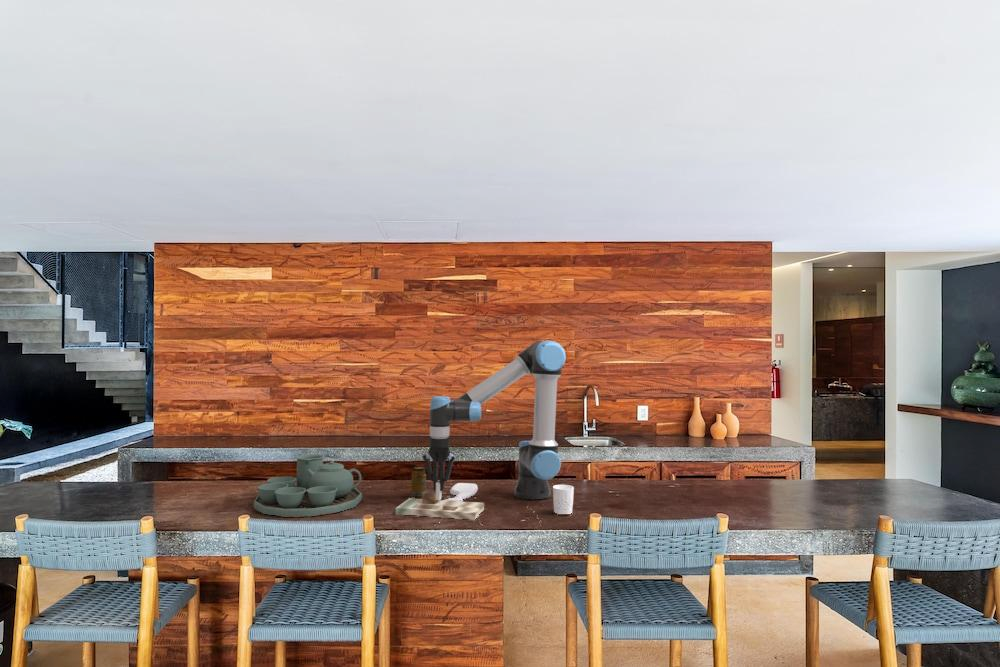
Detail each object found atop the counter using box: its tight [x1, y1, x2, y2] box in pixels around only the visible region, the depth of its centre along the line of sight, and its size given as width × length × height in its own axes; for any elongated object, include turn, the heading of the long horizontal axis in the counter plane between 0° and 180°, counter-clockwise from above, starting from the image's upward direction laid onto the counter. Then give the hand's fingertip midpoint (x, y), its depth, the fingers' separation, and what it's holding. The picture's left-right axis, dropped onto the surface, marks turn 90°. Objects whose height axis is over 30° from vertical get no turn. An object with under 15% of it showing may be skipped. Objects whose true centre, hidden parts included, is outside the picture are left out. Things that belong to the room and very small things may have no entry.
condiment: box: [410, 466, 427, 498], centre depth 252 cm, size 7×8×12 cm
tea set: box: [253, 453, 363, 516], centre depth 239 cm, size 40×40×16 cm
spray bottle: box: [444, 482, 479, 502], centre depth 255 cm, size 3×11×25 cm
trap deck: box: [395, 497, 485, 521], centre depth 230 cm, size 30×15×2 cm, turn 79°
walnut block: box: [422, 489, 439, 504], centre depth 234 cm, size 5×5×4 cm
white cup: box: [552, 484, 575, 514], centre depth 229 cm, size 8×8×10 cm
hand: (438, 499), depth 233 cm, fingers closed
